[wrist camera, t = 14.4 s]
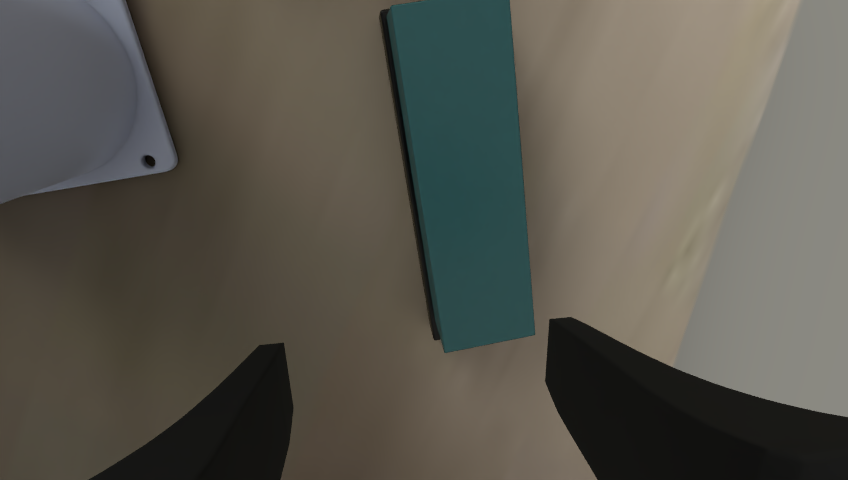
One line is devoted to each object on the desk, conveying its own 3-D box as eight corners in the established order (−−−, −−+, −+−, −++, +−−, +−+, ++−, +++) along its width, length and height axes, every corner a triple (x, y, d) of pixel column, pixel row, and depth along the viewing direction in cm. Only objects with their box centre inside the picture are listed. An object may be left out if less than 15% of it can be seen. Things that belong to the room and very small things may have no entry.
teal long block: (512, 310, 23) (541, 355, 20) (429, 326, 23) (443, 375, 19) (483, -2, 19) (514, -21, 15) (378, 14, 18) (383, -1, 15)
